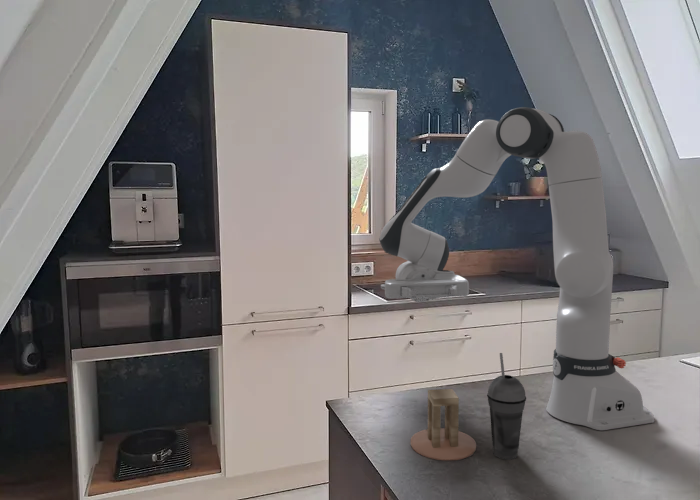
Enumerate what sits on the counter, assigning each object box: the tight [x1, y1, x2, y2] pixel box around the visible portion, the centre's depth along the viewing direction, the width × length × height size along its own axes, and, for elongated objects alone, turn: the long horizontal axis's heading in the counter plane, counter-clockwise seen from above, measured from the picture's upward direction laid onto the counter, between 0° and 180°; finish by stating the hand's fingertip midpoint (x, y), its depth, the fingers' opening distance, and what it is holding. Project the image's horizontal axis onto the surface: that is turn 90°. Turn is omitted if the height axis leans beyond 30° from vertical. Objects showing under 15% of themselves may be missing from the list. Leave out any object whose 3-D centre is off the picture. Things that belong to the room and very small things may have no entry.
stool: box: [427, 388, 460, 448], centre depth 110 cm, size 5×5×10 cm
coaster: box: [410, 427, 477, 462], centre depth 110 cm, size 13×13×1 cm
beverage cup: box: [486, 352, 527, 460], centre depth 105 cm, size 7×7×20 cm
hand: (433, 293), depth 124 cm, fingers open, 8 cm apart
